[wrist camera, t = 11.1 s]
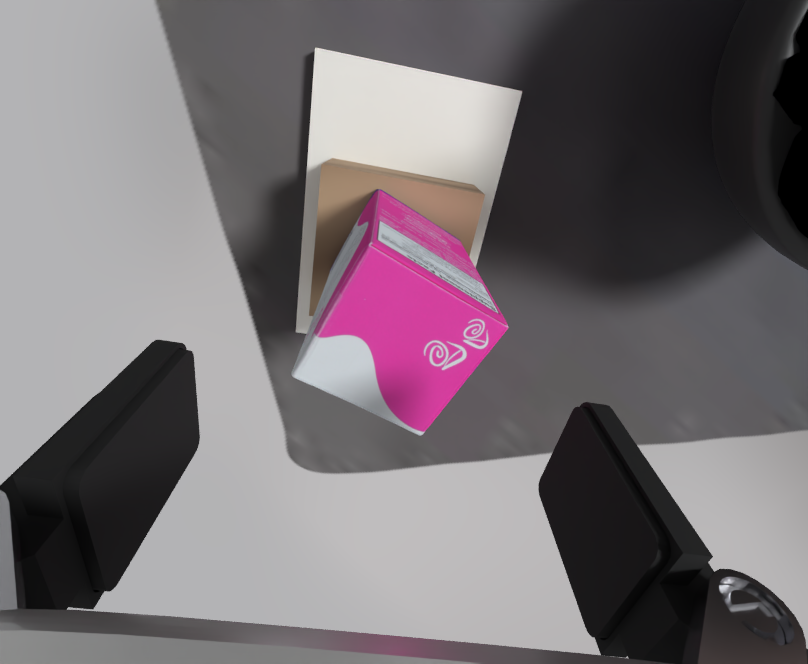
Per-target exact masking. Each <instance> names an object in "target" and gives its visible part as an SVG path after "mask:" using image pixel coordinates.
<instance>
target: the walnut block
mask: <svg viewBox="0 0 808 664" xmlns="http://www.w3.org/2000/svg"><path fill="white" fill-rule="evenodd" d="M377 189H381V190H383V191H384V192H386V193H388V194H389V195H391V196H392V197H394V198H396V199H397V200H399V201H400V202H402V203H403V204H405V205H407V206H408V207H410V208H411V209H413V210H414V211H416V212H417V213H419V214H420V215H422V216H424V217H425V218H427V219H428V220H430V221H431V222H433V223H434V224H436V225H437V226H439V227H440V228H442V229H444V230H445V231H447V232H448V233H450V234H451V235H453V236H454V237H456V238H457V239H459V240H460V241H461V243H462V245H463V247H464V249H465V250H466V252H467V254H468V256H470V252H471V248H472V244H473V240H474V237H475V233H476V229H477V225H478V221H479V217H480V213H481V209H482V205H483V201H484V197H485V194H484V193H483V192H482V191H480V190H479V189H478V188H477V187H476V186H475V185H473V184H468V183H462V182H457V181H452V180H446V179H441V178H436V177H431V176H425V175H420V174H415V173H409V172H404V171H399V170H394V169H388V168H383V167H378V166H372V165H367V164H362V163H357V162H351V161H346V160H341V159H335V158H331V159H330V160H328V161H326V162H324V163H322V164H321V175H320V187H319V199H318V211H317V223H316V235H315V248H314V260H313V272H312V284H311V296H310V308H309V316H314V313H315V311H316V308H317V306H318V303H319V300H320V298H321V295H322V293H323V290H324V287H325V284H326V282H327V279H328V276H329V273H330V269H331V267H332V266H333V264H334V262H335V260H336V258H337V256H338V254H339V252H340V250H341V249H342V247H343V245H344V243H345V241H346V239H347V238H348V236H349V234H350V232H351V231H352V229H353V227H354V225H355V223H356V222H357V220H358V218H359V216H360V215H361V213H362V211H363V210H364V208H365V206H366V205H367V203H368V201H369V200H370V198H371V196H372V195H373V193H374V192H375V191H376V190H377Z"/></svg>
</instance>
